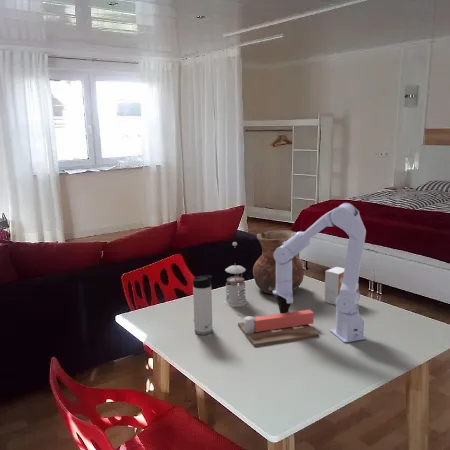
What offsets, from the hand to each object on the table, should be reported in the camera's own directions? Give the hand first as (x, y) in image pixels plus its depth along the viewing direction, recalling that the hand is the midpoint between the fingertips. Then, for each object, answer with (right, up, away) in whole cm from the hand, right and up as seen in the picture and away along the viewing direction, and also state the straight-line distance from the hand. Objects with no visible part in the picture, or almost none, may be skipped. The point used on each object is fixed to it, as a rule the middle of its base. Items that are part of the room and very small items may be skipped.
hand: (283, 315), depth 164 cm
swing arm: (-2, -3, -6) cm, 7 cm away
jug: (+2, +4, +35) cm, 35 cm away
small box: (+24, +1, +20) cm, 31 cm away
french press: (-16, +1, +22) cm, 28 cm away
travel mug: (-28, -5, -4) cm, 29 cm away
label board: (-3, -4, -5) cm, 8 cm away
